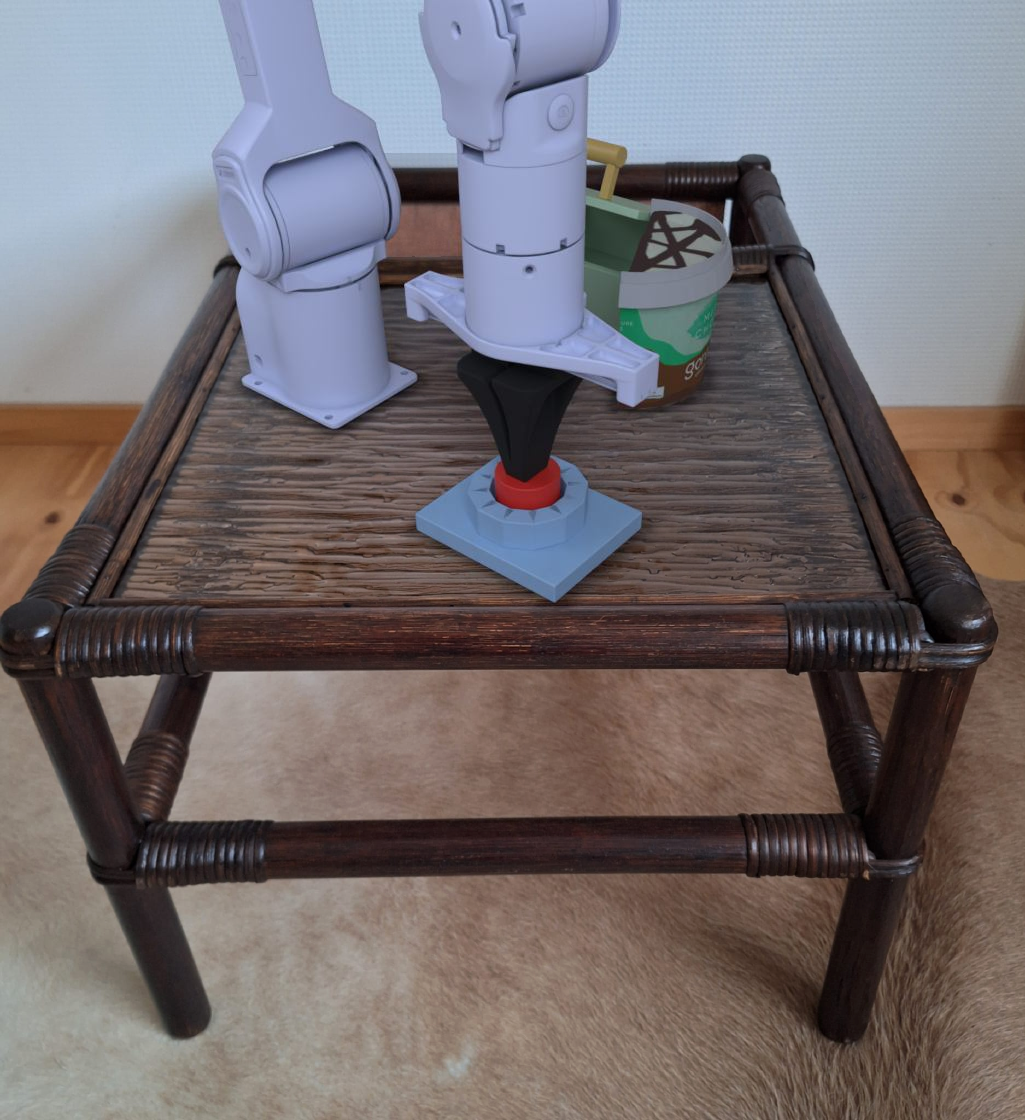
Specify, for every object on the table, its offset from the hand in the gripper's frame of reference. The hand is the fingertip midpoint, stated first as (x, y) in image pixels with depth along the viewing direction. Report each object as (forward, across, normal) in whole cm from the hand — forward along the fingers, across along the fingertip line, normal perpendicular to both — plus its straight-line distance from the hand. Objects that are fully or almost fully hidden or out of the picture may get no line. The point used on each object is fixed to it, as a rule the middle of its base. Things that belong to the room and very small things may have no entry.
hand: (526, 470), depth 58 cm
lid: (-3, +14, -26) cm, 30 cm away
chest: (+4, +14, -26) cm, 30 cm away
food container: (+4, +2, -19) cm, 20 cm away
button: (+2, 0, 0) cm, 2 cm away
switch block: (+4, 0, 0) cm, 4 cm away
